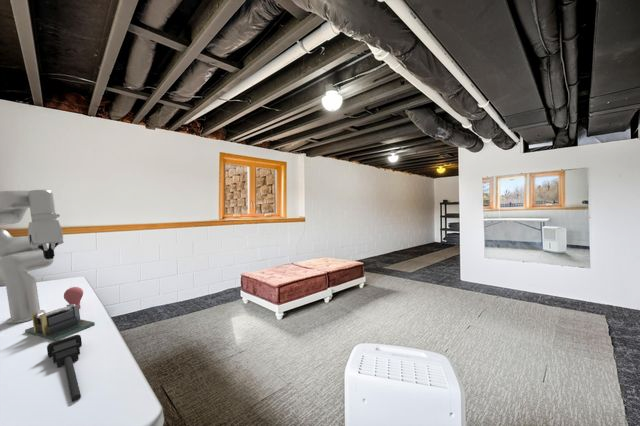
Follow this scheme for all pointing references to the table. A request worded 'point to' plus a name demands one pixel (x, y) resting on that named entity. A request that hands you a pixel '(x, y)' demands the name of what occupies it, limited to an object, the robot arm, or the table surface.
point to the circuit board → (58, 324)
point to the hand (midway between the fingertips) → (49, 258)
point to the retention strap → (58, 310)
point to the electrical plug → (67, 360)
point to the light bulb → (73, 295)
